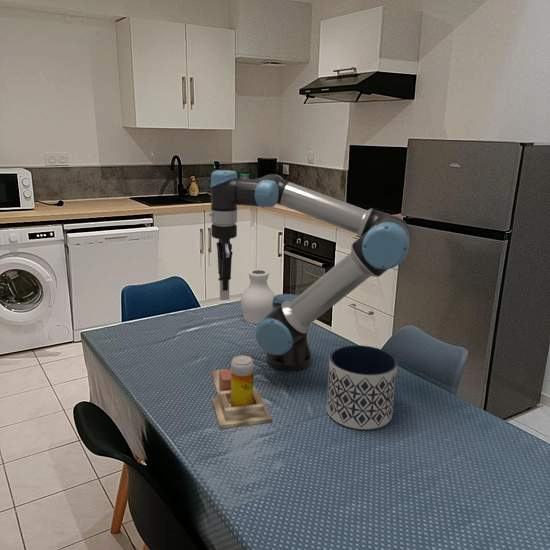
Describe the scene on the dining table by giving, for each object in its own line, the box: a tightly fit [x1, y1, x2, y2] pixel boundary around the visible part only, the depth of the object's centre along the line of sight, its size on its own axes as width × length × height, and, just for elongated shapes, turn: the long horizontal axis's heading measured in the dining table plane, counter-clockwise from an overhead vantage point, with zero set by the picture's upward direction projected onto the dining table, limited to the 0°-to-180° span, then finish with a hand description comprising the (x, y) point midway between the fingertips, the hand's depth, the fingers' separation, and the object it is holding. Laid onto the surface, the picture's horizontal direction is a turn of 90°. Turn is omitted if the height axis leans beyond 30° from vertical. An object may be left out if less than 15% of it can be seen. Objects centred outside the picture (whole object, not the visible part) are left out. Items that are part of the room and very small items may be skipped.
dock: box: [210, 368, 273, 430], centre depth 152 cm, size 14×31×4 cm, turn 15°
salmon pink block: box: [219, 368, 231, 391], centre depth 151 cm, size 8×6×6 cm
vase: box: [240, 268, 276, 325], centre depth 208 cm, size 14×14×20 cm
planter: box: [326, 344, 398, 430], centre depth 143 cm, size 18×18×16 cm
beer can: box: [230, 355, 255, 407], centre depth 141 cm, size 6×6×15 cm
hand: (224, 299), depth 160 cm, fingers closed
